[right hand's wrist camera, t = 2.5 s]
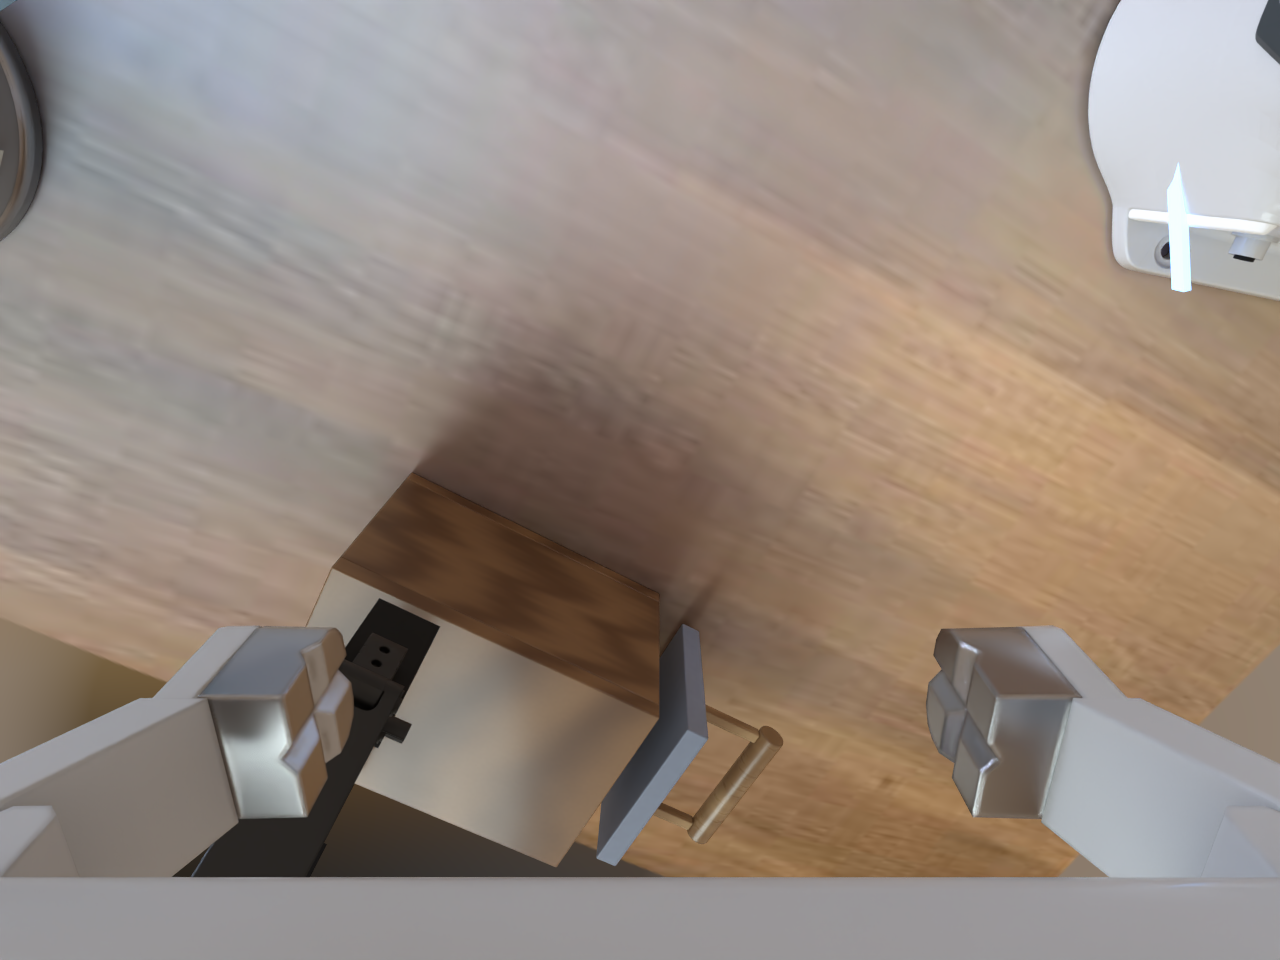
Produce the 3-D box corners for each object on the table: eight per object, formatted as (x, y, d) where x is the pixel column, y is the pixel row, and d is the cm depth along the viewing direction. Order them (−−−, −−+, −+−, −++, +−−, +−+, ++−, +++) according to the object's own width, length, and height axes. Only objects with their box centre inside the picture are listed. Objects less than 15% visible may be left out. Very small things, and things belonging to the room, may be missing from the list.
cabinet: (660, 593, 47) (660, 718, 36) (578, 720, 50) (556, 868, 40) (411, 471, 44) (331, 566, 33) (345, 615, 48) (254, 742, 37)
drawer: (776, 668, 47) (803, 782, 38) (696, 776, 51) (704, 904, 42) (472, 520, 44) (425, 607, 35) (408, 646, 47) (350, 755, 38)
